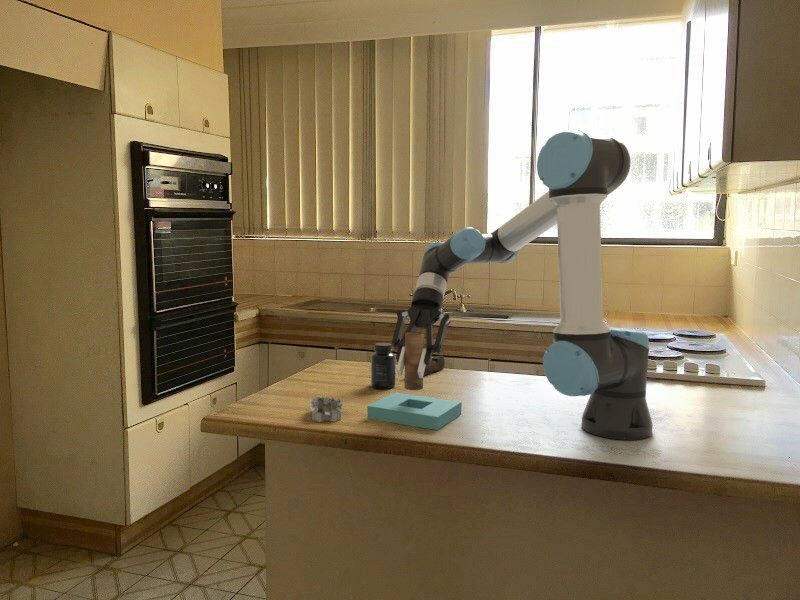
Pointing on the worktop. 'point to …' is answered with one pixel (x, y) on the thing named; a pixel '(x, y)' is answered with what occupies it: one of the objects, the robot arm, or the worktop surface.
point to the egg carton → (326, 409)
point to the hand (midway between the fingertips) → (409, 373)
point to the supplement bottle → (383, 366)
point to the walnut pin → (413, 360)
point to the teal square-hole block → (414, 410)
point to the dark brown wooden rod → (435, 365)
